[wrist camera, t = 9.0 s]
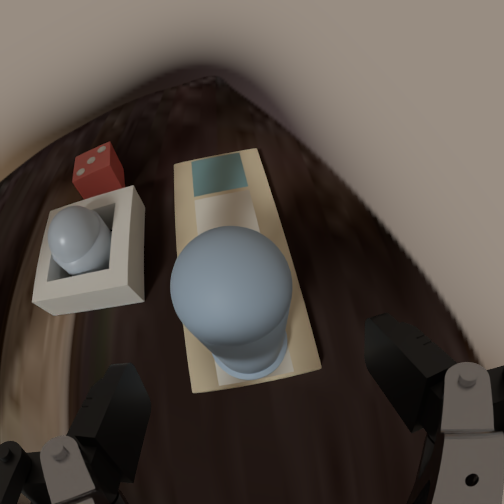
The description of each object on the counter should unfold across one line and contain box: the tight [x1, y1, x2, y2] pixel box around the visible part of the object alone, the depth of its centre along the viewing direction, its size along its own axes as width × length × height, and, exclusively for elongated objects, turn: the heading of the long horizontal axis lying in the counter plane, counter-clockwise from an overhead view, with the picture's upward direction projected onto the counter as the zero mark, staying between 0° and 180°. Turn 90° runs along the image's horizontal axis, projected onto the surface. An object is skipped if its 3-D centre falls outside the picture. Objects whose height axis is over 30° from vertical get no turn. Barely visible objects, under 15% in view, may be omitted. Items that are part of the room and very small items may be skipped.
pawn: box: [170, 226, 292, 380], centre depth 13 cm, size 5×5×11 cm
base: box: [32, 185, 145, 316], centre depth 21 cm, size 9×9×3 cm
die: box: [72, 141, 125, 200], centre depth 24 cm, size 4×4×4 cm
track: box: [174, 148, 322, 393], centre depth 21 cm, size 8×20×1 cm, turn 11°
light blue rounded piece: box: [48, 206, 112, 276], centre depth 19 cm, size 5×5×6 cm
